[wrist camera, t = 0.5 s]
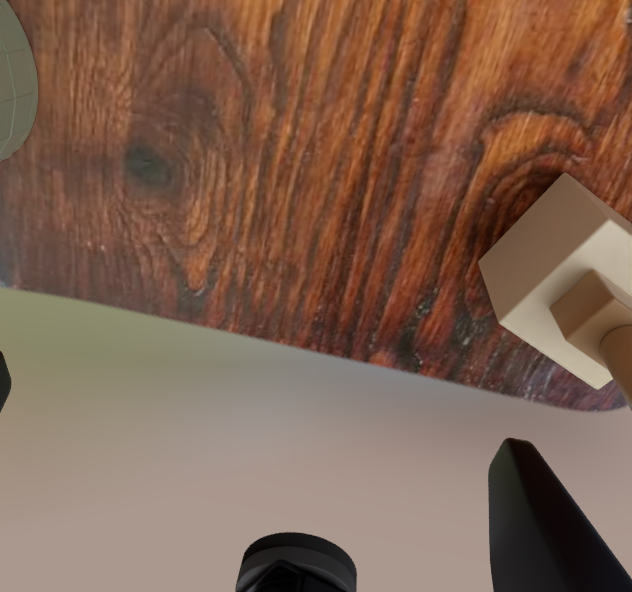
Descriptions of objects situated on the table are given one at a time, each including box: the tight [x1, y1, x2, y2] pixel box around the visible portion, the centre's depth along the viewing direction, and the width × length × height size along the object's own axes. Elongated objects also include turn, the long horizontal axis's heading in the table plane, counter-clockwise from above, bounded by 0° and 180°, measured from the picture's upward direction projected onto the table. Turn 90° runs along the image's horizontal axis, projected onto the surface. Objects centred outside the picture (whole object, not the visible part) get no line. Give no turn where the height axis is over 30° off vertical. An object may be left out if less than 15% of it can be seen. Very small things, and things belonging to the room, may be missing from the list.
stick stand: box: [478, 173, 632, 390], centre depth 21 cm, size 5×5×5 cm
